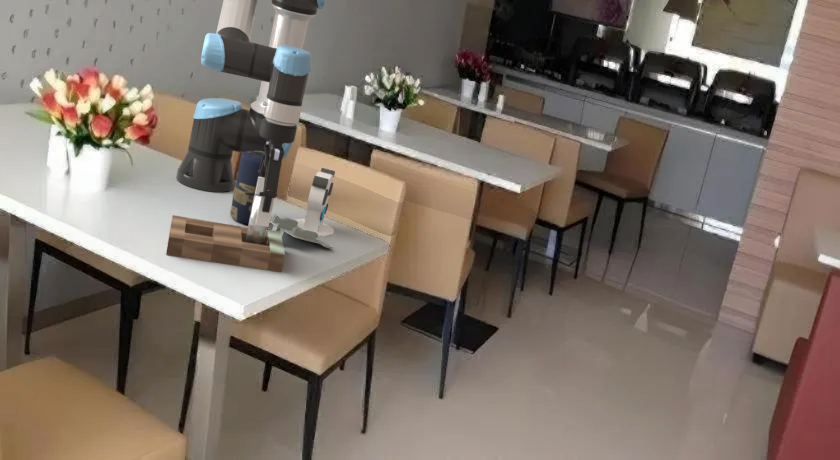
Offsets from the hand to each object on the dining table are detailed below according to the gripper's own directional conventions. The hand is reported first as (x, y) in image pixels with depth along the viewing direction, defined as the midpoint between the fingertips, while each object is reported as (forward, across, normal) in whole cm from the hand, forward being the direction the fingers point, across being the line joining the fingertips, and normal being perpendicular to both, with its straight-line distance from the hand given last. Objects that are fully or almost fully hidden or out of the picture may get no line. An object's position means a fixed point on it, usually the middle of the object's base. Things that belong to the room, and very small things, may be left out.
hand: (260, 215), depth 180 cm
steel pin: (+10, 0, 0) cm, 10 cm away
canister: (+10, -24, 0) cm, 26 cm away
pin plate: (+10, 0, -6) cm, 11 cm away
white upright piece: (+10, -27, +16) cm, 33 cm away
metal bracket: (+10, -15, +10) cm, 20 cm away
